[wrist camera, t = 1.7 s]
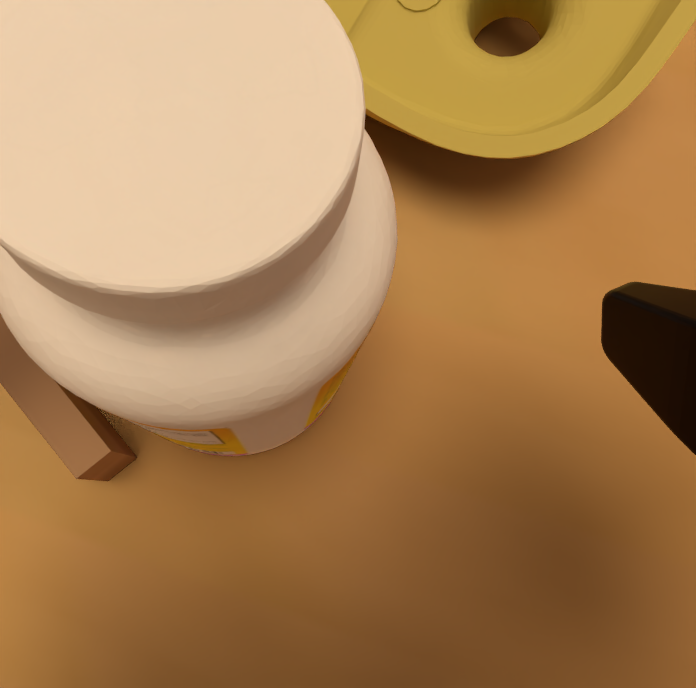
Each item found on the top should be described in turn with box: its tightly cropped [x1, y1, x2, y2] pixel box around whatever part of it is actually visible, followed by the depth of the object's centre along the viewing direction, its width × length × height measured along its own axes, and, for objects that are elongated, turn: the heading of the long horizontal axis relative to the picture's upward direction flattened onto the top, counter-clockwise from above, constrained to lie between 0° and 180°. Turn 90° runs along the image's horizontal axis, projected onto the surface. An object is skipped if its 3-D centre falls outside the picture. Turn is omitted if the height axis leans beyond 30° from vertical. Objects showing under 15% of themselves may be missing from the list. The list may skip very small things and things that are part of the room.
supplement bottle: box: [0, 0, 397, 456], centre depth 13 cm, size 7×7×13 cm
